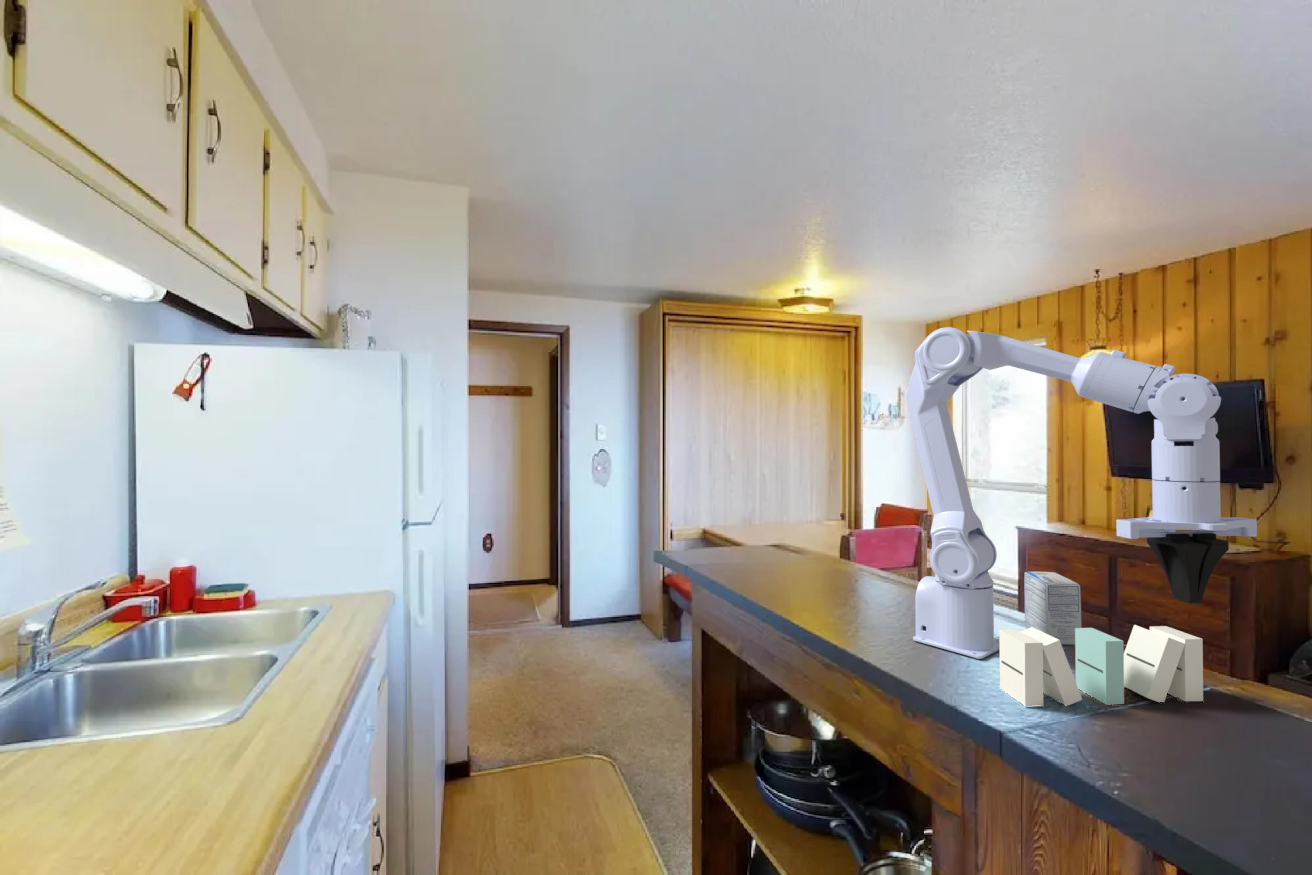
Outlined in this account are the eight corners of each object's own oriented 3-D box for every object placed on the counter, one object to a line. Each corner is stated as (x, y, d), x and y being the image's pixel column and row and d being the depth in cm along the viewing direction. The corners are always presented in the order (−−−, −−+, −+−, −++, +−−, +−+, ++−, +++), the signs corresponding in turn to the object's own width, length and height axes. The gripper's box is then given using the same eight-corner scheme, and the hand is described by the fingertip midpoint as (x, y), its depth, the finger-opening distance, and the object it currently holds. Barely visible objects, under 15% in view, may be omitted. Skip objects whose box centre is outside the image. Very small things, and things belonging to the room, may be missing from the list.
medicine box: (1082, 646, 81) (1082, 584, 81) (1047, 644, 82) (1046, 583, 82) (1056, 628, 89) (1055, 571, 89) (1023, 626, 90) (1023, 570, 90)
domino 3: (1092, 687, 68) (1092, 627, 68) (1124, 705, 64) (1123, 640, 64) (1075, 688, 68) (1074, 628, 68) (1106, 705, 64) (1105, 641, 64)
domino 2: (1053, 682, 68) (1032, 626, 68) (1082, 699, 64) (1059, 639, 64) (1037, 689, 68) (1016, 633, 68) (1065, 706, 64) (1042, 646, 63)
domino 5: (1166, 685, 69) (1166, 626, 69) (1203, 702, 64) (1202, 638, 64) (1149, 686, 68) (1149, 626, 68) (1185, 703, 64) (1184, 639, 64)
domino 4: (1129, 686, 68) (1150, 630, 68) (1163, 703, 64) (1185, 643, 64) (1113, 680, 68) (1133, 624, 68) (1146, 697, 64) (1168, 637, 64)
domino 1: (1017, 689, 68) (1016, 629, 68) (1043, 707, 63) (1043, 642, 63) (999, 690, 68) (999, 629, 68) (1025, 707, 63) (1024, 643, 63)
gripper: (1153, 484, 62) (1155, 612, 62) (1286, 482, 62) (1288, 609, 62) (1101, 479, 69) (1102, 594, 69) (1220, 477, 70) (1222, 592, 69)
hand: (1187, 600), depth 66 cm, fingers closed
